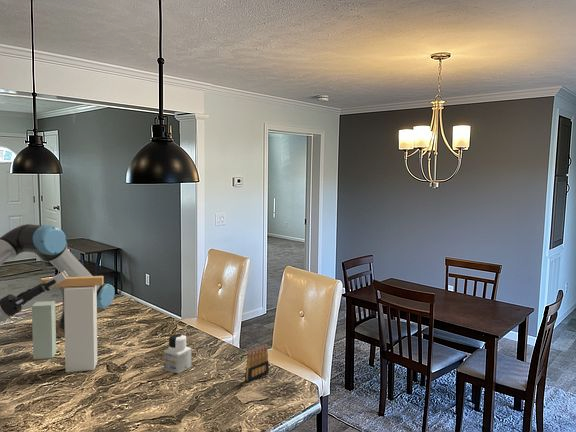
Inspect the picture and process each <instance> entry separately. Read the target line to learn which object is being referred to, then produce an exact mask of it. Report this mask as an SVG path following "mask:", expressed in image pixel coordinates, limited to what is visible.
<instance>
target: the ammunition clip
mask: <svg viewBox="0 0 576 432" xmlns="http://www.w3.org/2000/svg"><path fill="white" fill-rule="evenodd" d="M246 356H247V357H246V366H245V374H244V375H245V377H244V378H245V379H244V381H245V380H246V381H245V382H247V381H248V383H250V382H252V381H254V380H253V379H255V380H257V379H259V378H261V377H263V376H262V375H264V376H265V374H266V375H268V374H269V372H270V369H269V368H270V365H269V362H270V360H269V352H268V344H267V343H265V344H261V346H260V345H258V347H257V346H255V347H254V348H253V347H252V348H251V350H250V349H248V351H247V355H246ZM267 373H268V374H267ZM260 376H261V377H260ZM258 377H259V378H258ZM256 378H257V379H256ZM251 380H252V381H251ZM249 381H250V382H249Z"/></svg>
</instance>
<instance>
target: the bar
mask: <svg viewBox="0 0 576 432" xmlns="http://www.w3.org/2000/svg"><path fill="white" fill-rule="evenodd" d="M50 279H52V277H43V278H41V283H42V284H43V283H45V284H46V281H48V280H50ZM103 283H105V282H104V275H92V276H85V277H66V279H65V280H63V281H62V282H60V283H58V284H56V285H54V286H53V287H52V288H63V287H71V286H96V285H103Z"/></svg>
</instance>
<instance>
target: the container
mask: <svg viewBox="0 0 576 432" xmlns="http://www.w3.org/2000/svg"><path fill="white" fill-rule="evenodd" d="M191 367H192V347H189V346H187V336H186V335H185V334H181V333H175V334H172V335H170V336H169V338H168V348H166V349H163V370H164V371H168V372H172V373H174V374H178V375H179V374H180V373H182V372H184V371H186V370H188V369H189V368H191Z"/></svg>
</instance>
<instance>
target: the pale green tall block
mask: <svg viewBox="0 0 576 432" xmlns="http://www.w3.org/2000/svg"><path fill="white" fill-rule="evenodd" d="M56 323H57V322H56V300H52V301H51V300H49V301H47V300H46V301H35V302H34V304H32V305H31V325H32V327H31V328H32V359H33V360H45V359H53V358H54V356H55V355H56V353H57V333H56V329H57V328H56V326H57V325H56Z"/></svg>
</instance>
